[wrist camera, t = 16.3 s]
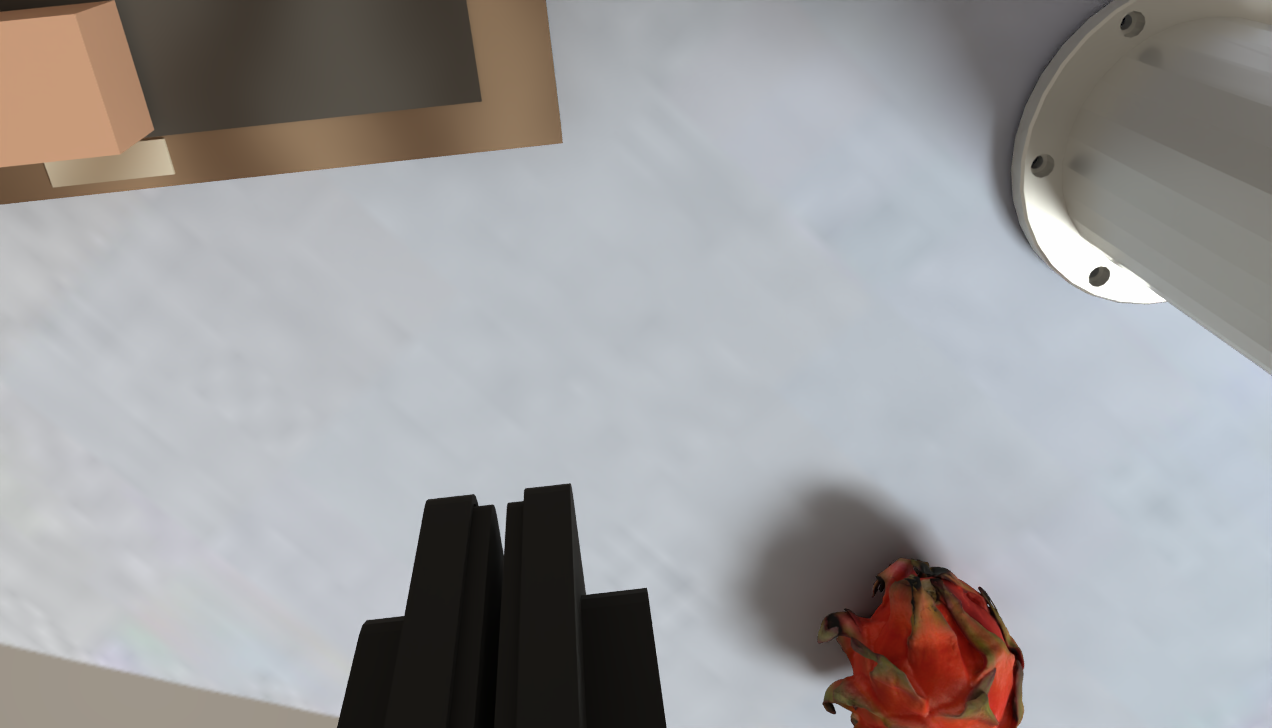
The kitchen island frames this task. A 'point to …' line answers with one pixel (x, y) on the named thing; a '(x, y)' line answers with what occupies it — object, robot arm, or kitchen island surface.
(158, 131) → the switch board
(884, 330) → the kitchen island surface
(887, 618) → the dragon fruit
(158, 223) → the kitchen island surface
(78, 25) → the tab
